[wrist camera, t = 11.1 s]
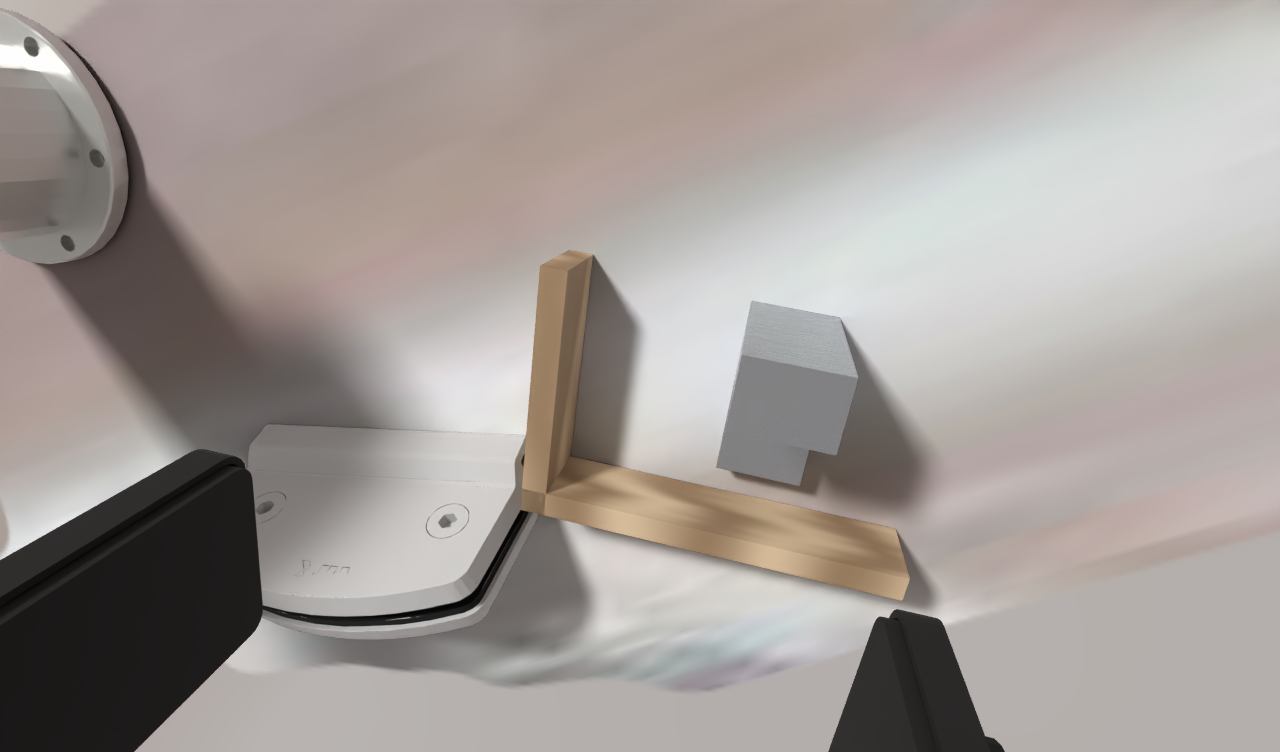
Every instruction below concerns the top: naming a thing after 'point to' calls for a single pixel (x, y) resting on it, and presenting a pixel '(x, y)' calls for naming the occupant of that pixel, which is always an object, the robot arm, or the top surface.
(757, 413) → the bracket
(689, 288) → the top surface
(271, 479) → the hinge
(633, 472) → the wooden corner frame
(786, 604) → the top surface
